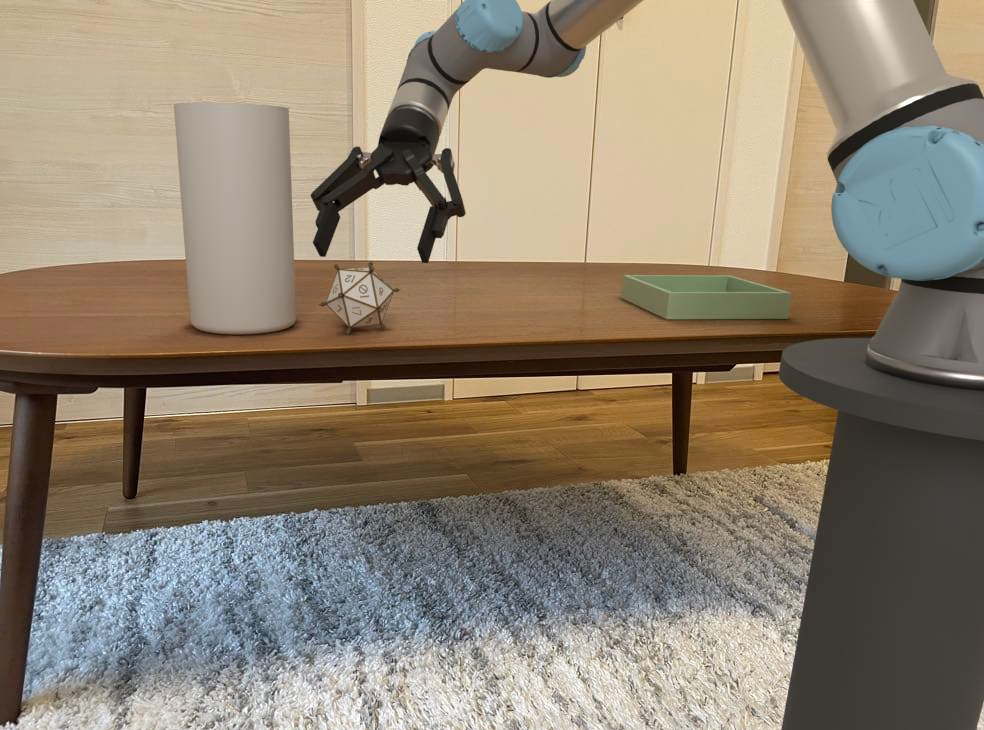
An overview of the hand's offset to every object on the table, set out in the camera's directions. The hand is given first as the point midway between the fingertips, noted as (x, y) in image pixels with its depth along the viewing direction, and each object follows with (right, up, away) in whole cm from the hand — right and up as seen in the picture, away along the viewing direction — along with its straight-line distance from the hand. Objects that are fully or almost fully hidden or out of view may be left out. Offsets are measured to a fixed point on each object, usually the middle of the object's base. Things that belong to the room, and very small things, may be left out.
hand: (369, 253), depth 94 cm
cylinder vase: (-15, -9, +1) cm, 18 cm away
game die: (-1, -10, 0) cm, 10 cm away
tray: (+47, -4, +20) cm, 51 cm away
